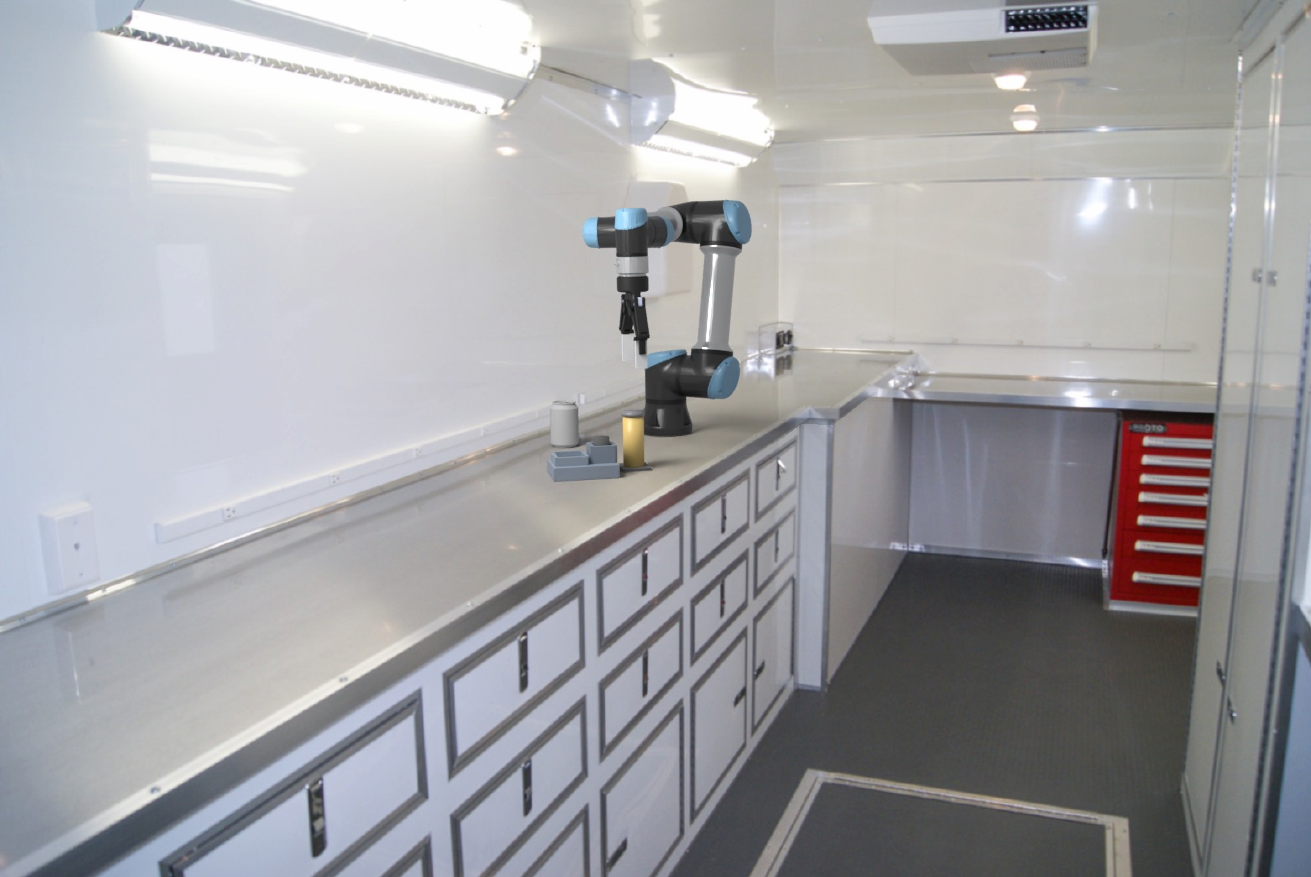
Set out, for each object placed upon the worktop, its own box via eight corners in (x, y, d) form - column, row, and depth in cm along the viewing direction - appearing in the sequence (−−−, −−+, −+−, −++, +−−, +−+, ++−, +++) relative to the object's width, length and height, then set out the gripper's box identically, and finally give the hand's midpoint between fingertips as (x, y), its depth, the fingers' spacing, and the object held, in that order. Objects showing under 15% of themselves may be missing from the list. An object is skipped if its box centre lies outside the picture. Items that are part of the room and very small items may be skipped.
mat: (644, 464, 250) (644, 461, 250) (651, 470, 243) (651, 467, 243) (616, 465, 248) (616, 463, 248) (622, 471, 242) (622, 469, 242)
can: (581, 443, 277) (580, 399, 275) (576, 448, 270) (575, 403, 267) (553, 443, 278) (552, 398, 275) (548, 448, 270) (547, 403, 268)
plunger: (607, 456, 241) (607, 435, 241) (611, 459, 238) (610, 437, 237) (592, 457, 241) (592, 435, 240) (595, 460, 237) (595, 438, 236)
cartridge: (642, 462, 249) (641, 409, 247) (647, 467, 244) (646, 412, 241) (620, 463, 248) (619, 410, 245) (625, 468, 243) (624, 413, 240)
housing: (610, 467, 246) (610, 439, 245) (620, 477, 235) (619, 447, 234) (547, 471, 242) (546, 442, 241) (554, 481, 232) (553, 451, 231)
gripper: (605, 273, 254) (607, 358, 259) (629, 278, 231) (631, 372, 235) (635, 272, 256) (637, 357, 260) (661, 277, 232) (663, 370, 237)
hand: (634, 364), depth 248 cm, fingers open, 13 cm apart
